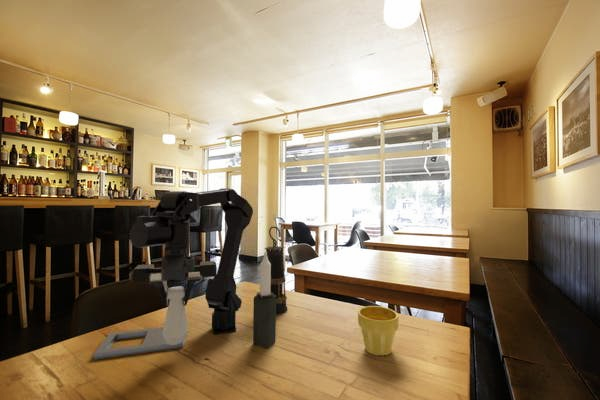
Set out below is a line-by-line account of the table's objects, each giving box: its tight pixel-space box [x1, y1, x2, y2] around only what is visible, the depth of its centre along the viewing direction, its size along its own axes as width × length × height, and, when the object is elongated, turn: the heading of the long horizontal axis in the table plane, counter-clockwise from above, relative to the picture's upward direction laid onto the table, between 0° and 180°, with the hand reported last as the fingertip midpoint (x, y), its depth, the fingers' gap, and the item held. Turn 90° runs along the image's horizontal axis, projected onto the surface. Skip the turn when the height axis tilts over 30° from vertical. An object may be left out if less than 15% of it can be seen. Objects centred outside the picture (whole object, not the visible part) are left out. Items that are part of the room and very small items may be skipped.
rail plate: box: [93, 326, 185, 361], centre depth 76 cm, size 20×11×2 cm, turn 108°
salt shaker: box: [162, 285, 189, 345], centre depth 69 cm, size 6×6×13 cm
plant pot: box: [357, 305, 399, 357], centre depth 74 cm, size 10×10×10 cm
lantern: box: [264, 226, 288, 316], centre depth 101 cm, size 9×9×30 cm
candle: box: [252, 251, 277, 349], centre depth 77 cm, size 5×5×25 cm
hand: (176, 305), depth 69 cm, fingers closed on salt shaker, 4 cm apart
